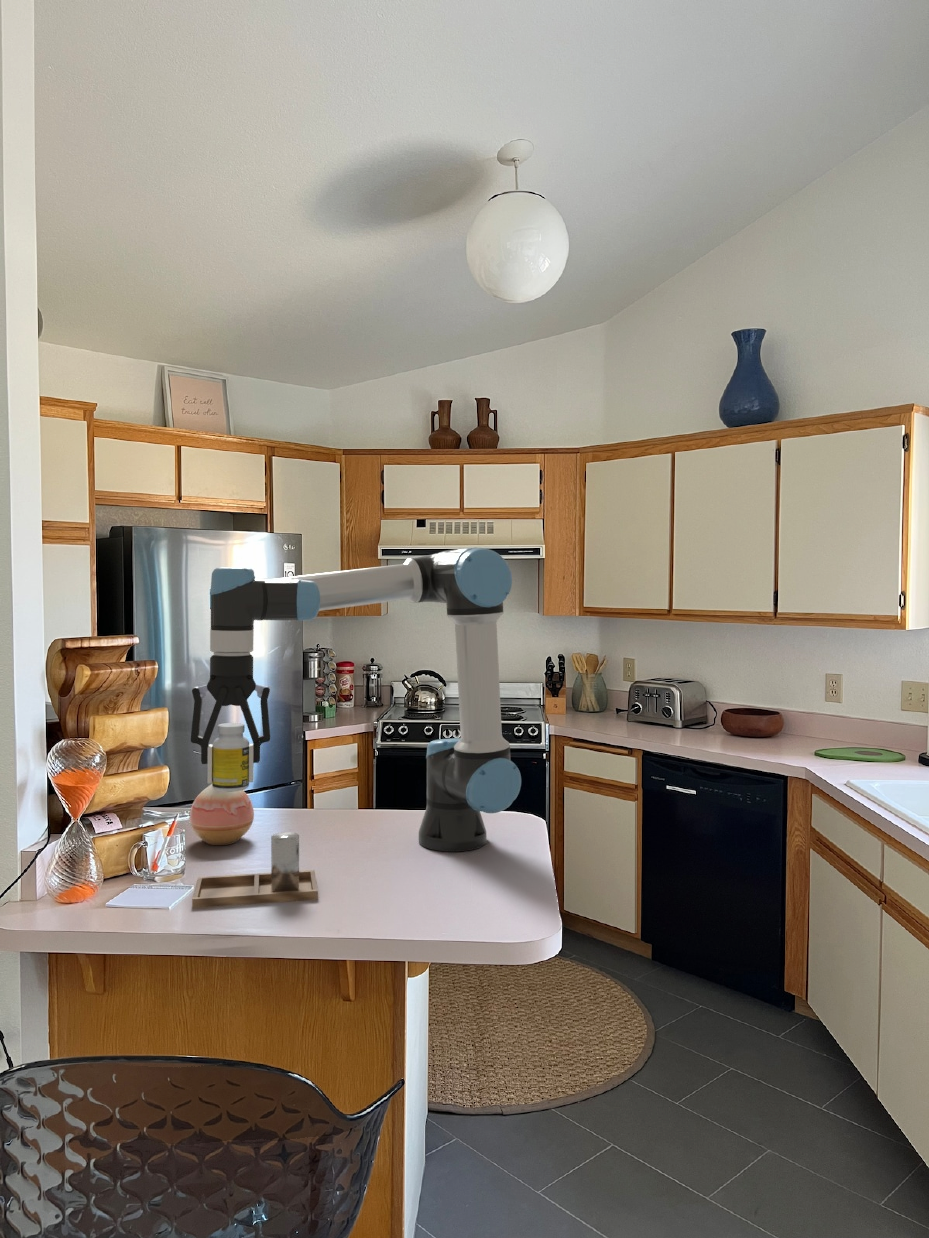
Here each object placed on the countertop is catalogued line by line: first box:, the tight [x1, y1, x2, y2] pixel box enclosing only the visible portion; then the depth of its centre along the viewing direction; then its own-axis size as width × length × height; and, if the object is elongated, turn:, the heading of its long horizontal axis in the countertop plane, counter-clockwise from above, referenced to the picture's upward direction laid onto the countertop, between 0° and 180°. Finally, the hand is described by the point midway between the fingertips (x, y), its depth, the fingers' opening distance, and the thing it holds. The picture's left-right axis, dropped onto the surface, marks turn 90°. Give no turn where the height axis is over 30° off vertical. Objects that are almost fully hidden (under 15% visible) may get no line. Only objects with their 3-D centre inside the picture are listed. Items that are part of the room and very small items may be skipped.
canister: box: [270, 831, 300, 892], centre depth 162 cm, size 5×5×10 cm
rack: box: [191, 869, 319, 909], centre depth 161 cm, size 21×12×3 cm, turn 102°
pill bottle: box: [211, 722, 250, 792], centre depth 160 cm, size 6×6×12 cm
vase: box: [189, 783, 255, 846], centre depth 196 cm, size 14×14×18 cm
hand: (230, 780), depth 160 cm, fingers closed on pill bottle, 6 cm apart
